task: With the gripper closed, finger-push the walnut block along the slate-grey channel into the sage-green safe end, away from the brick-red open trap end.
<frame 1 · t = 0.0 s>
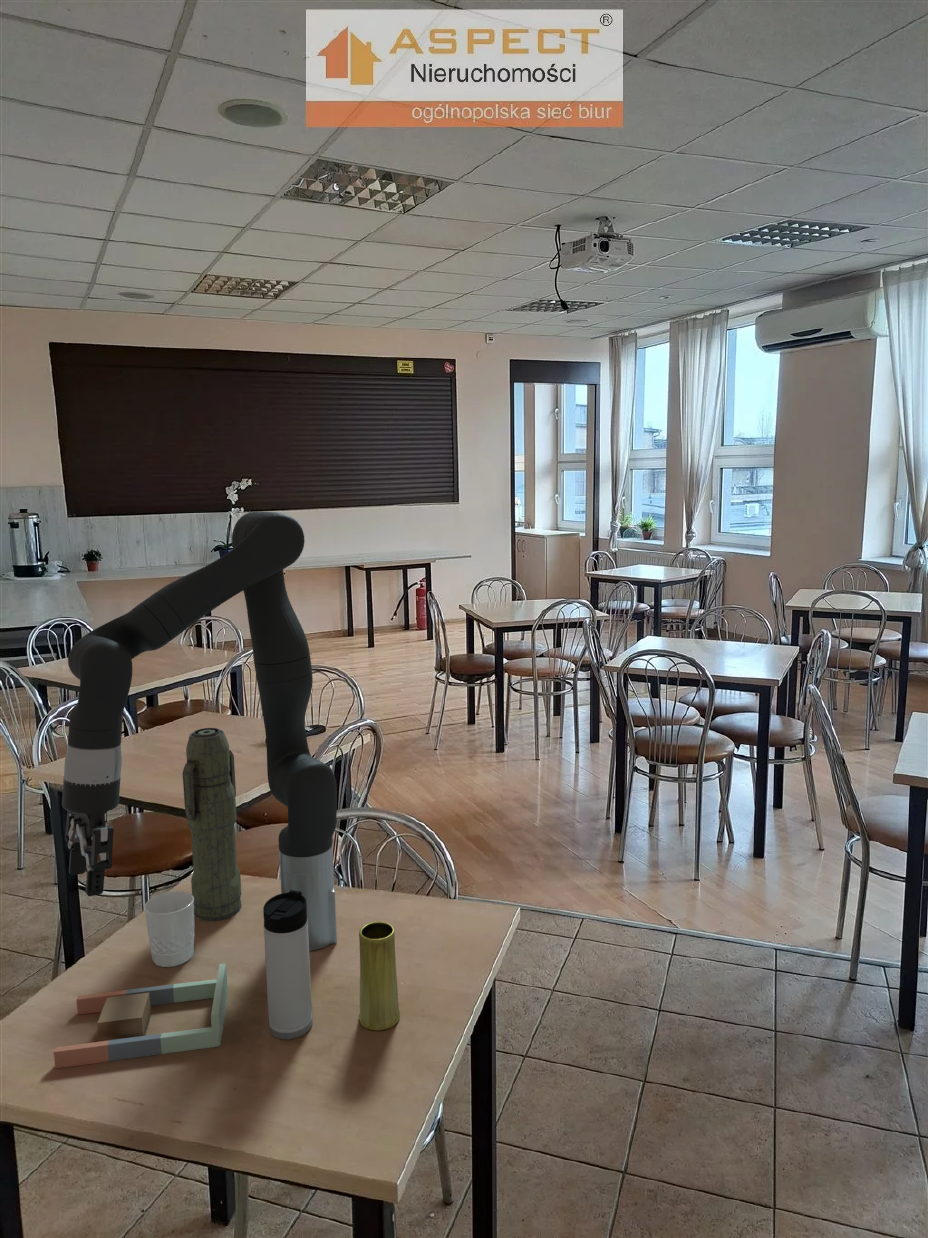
hand: (85, 883, 120), 22 cm above the table, tool pointing down, fingers open, 8 cm apart
white cup: (173, 957, 141), on the table
vase: (379, 1019, 124), on the table
channel: (147, 1027, 122), on the table
travel mug: (291, 1026, 122), on the table
walnut block: (126, 1031, 122), resting in channel
thermos: (218, 910, 157), on the table
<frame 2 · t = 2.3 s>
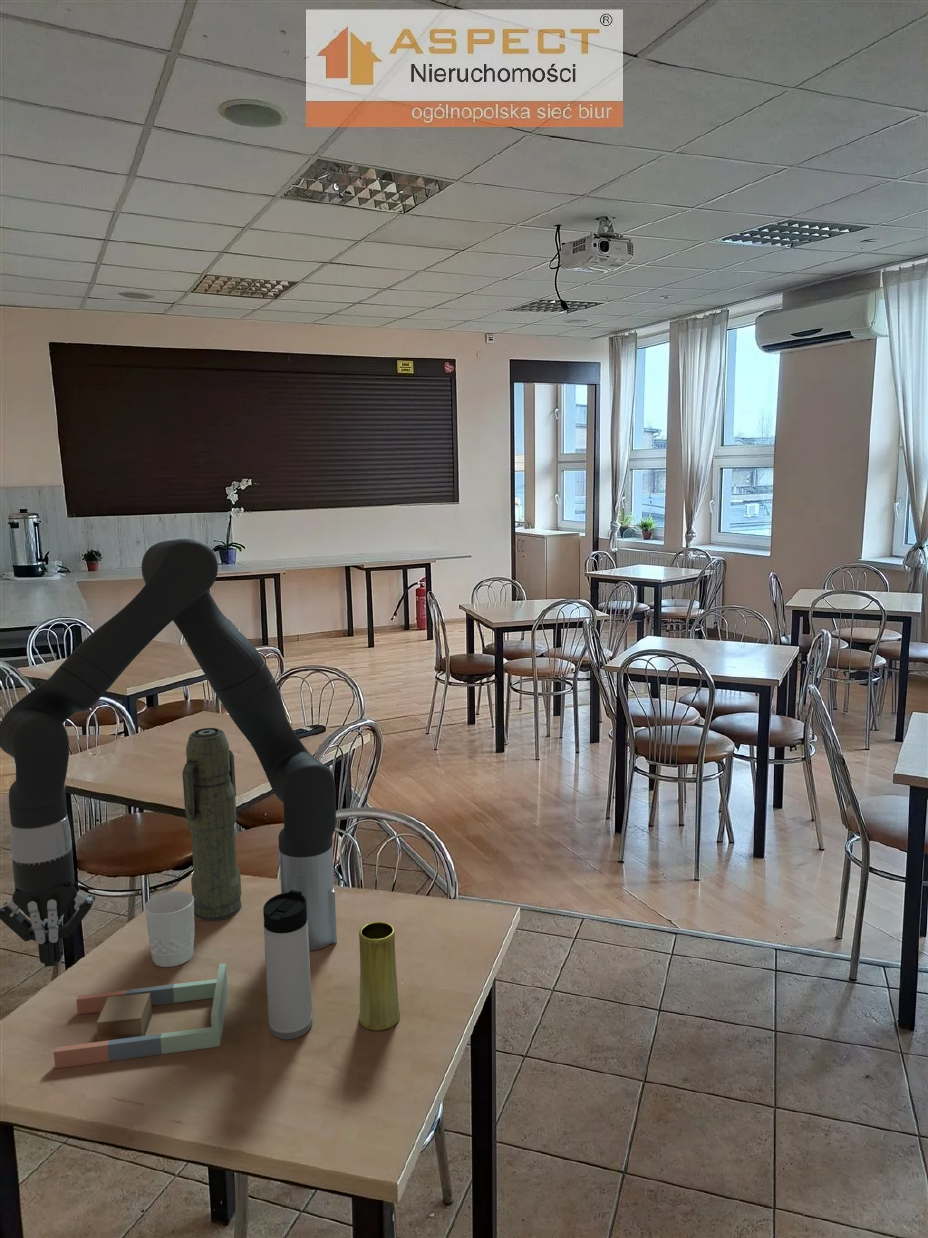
hand: (52, 963, 118), 12 cm above the table, tool pointing down, fingers closed
nothing on the table moved.
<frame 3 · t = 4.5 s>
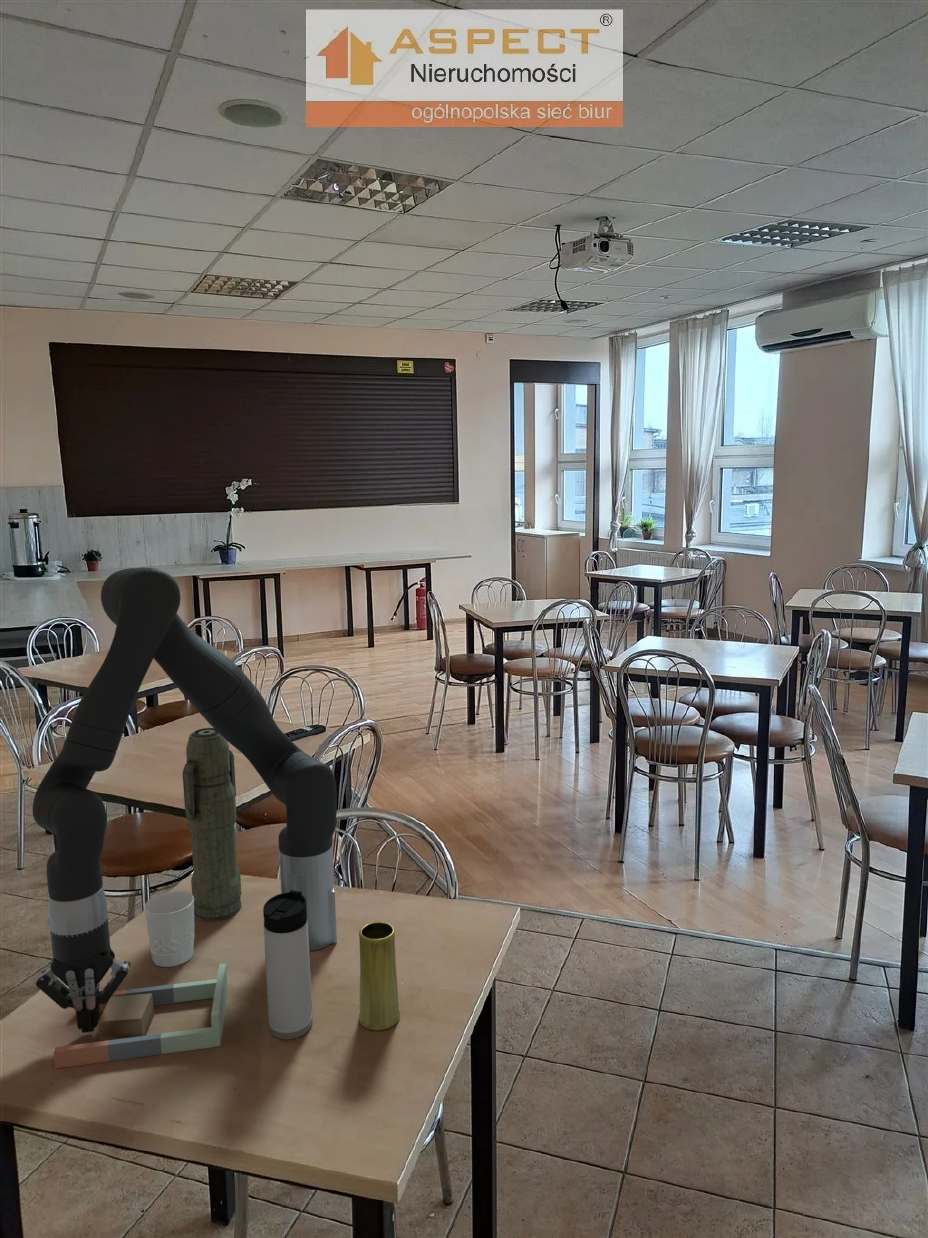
hand: (89, 1028, 121), 1 cm above the table, tool pointing down, fingers closed
walnut block: (127, 1032, 122), resting in channel, touching gripper
everything else where it was.
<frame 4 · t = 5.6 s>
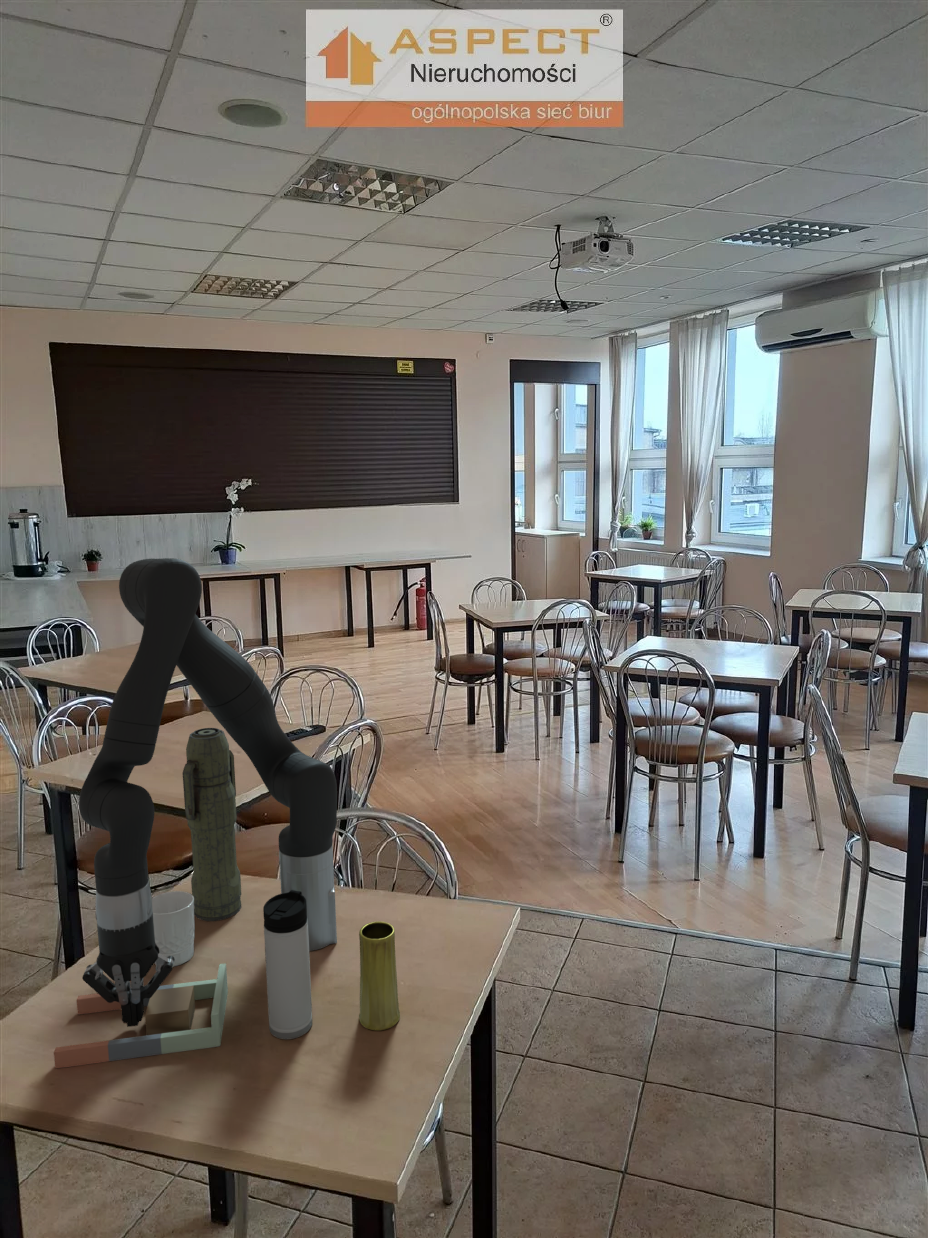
hand: (133, 1022, 122), 1 cm above the table, tool pointing down, fingers closed
walnut block: (171, 1024, 123), resting in channel, touching gripper
everything else where it was.
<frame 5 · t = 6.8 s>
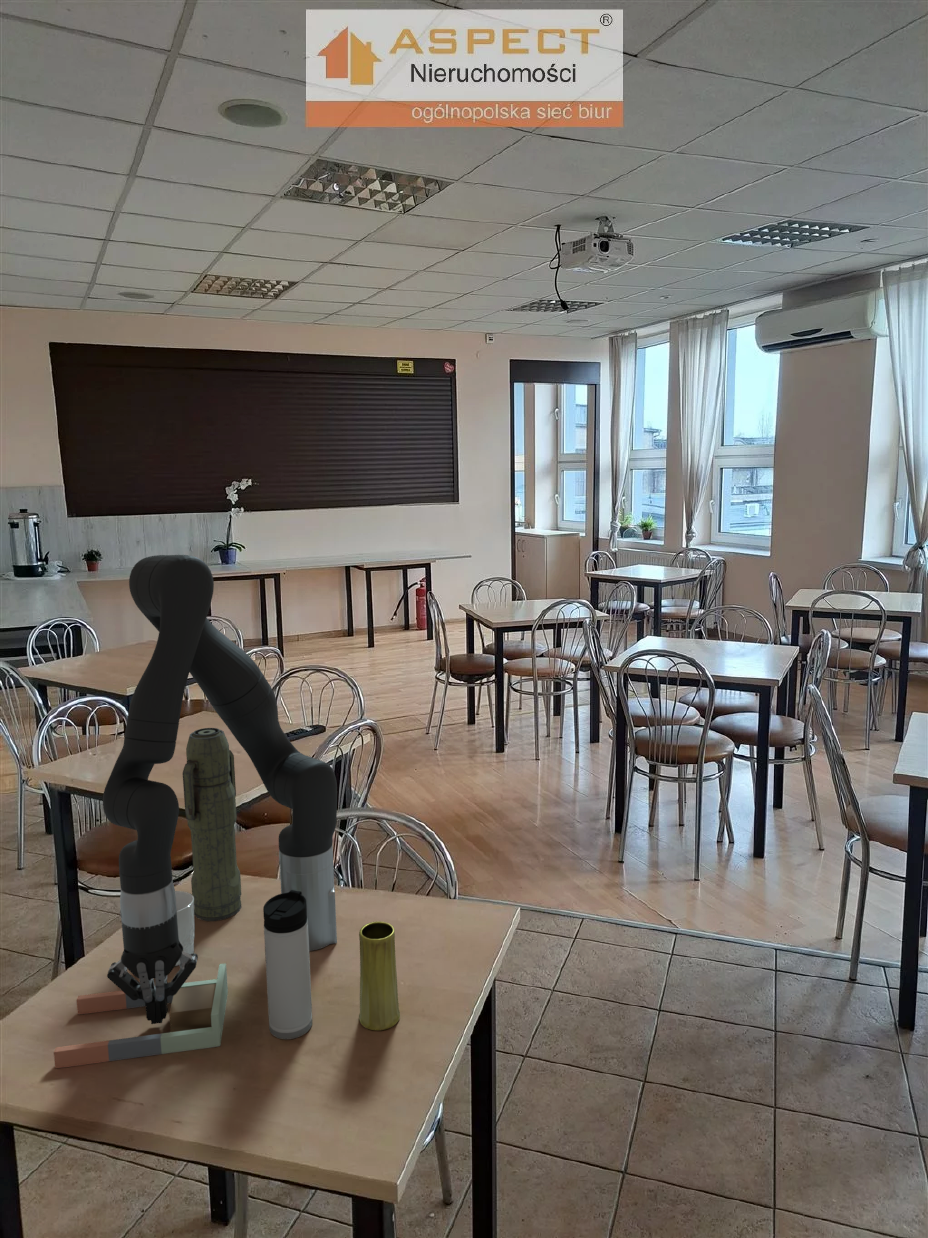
hand: (157, 1020, 122), 1 cm above the table, tool pointing down, fingers closed
walnut block: (195, 1022, 124), resting in channel
everything else where it was.
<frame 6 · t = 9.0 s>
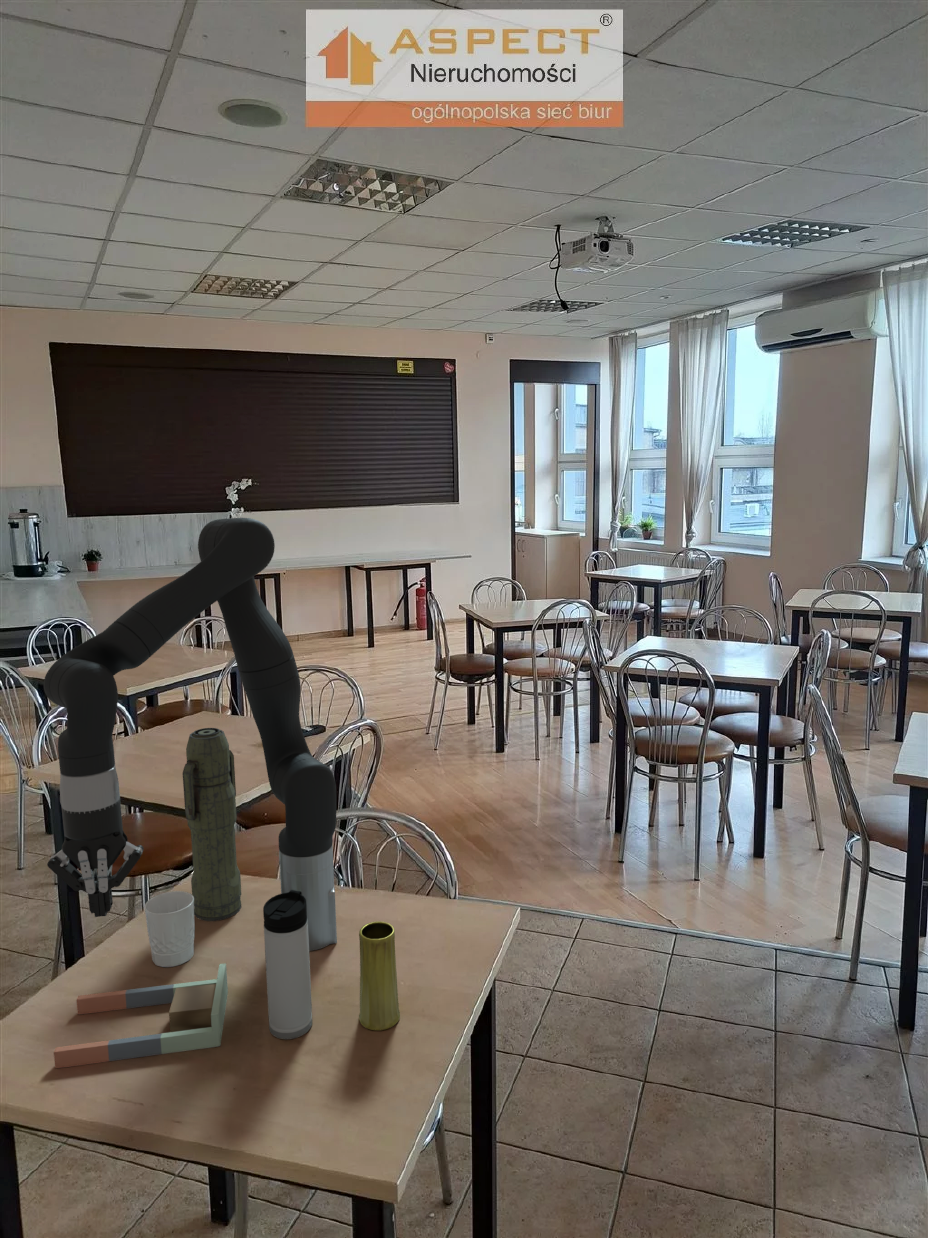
hand: (101, 913, 118), 19 cm above the table, tool pointing down, fingers closed
nothing on the table moved.
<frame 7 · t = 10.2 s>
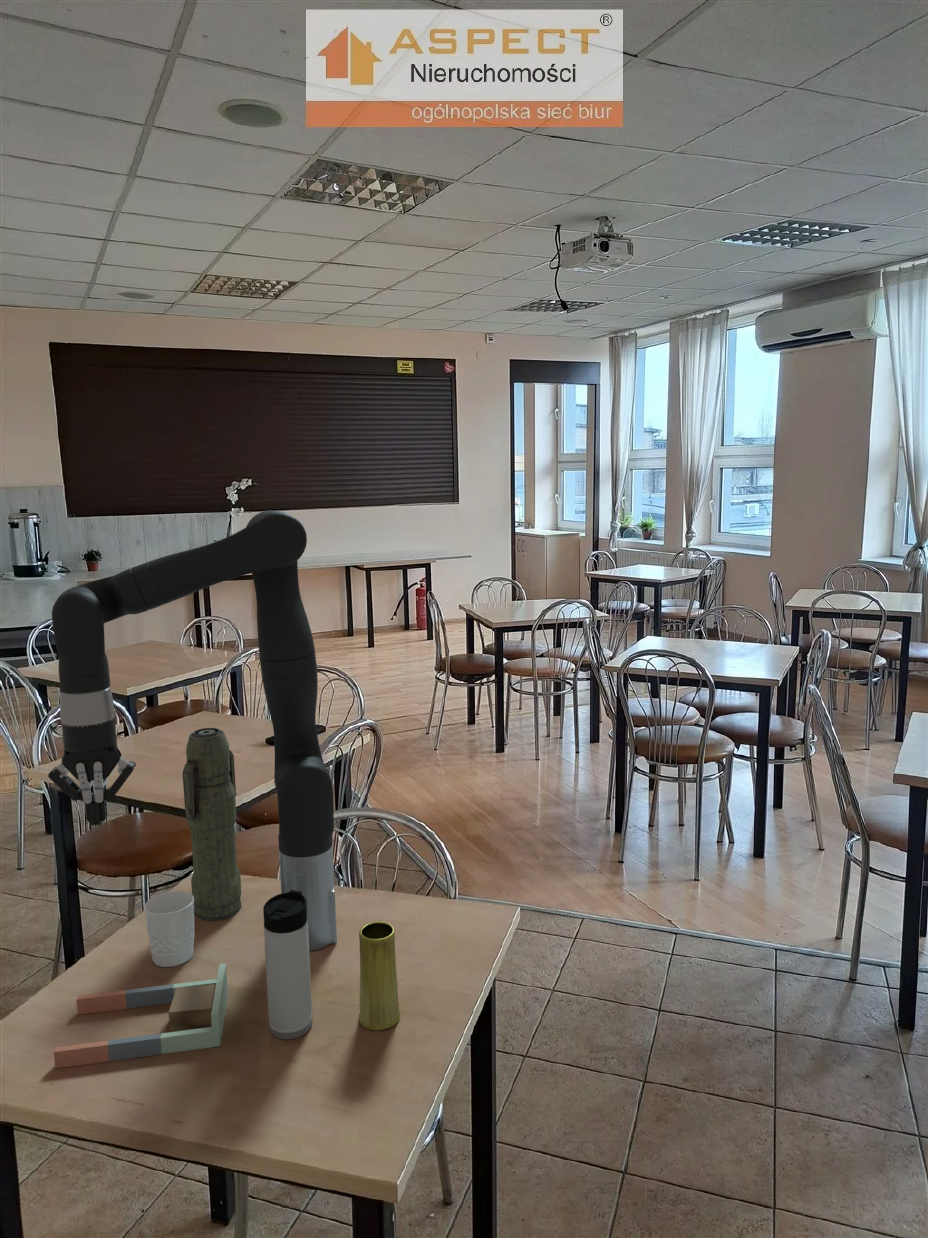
hand: (97, 823, 130), 27 cm above the table, tool pointing down, fingers closed
nothing on the table moved.
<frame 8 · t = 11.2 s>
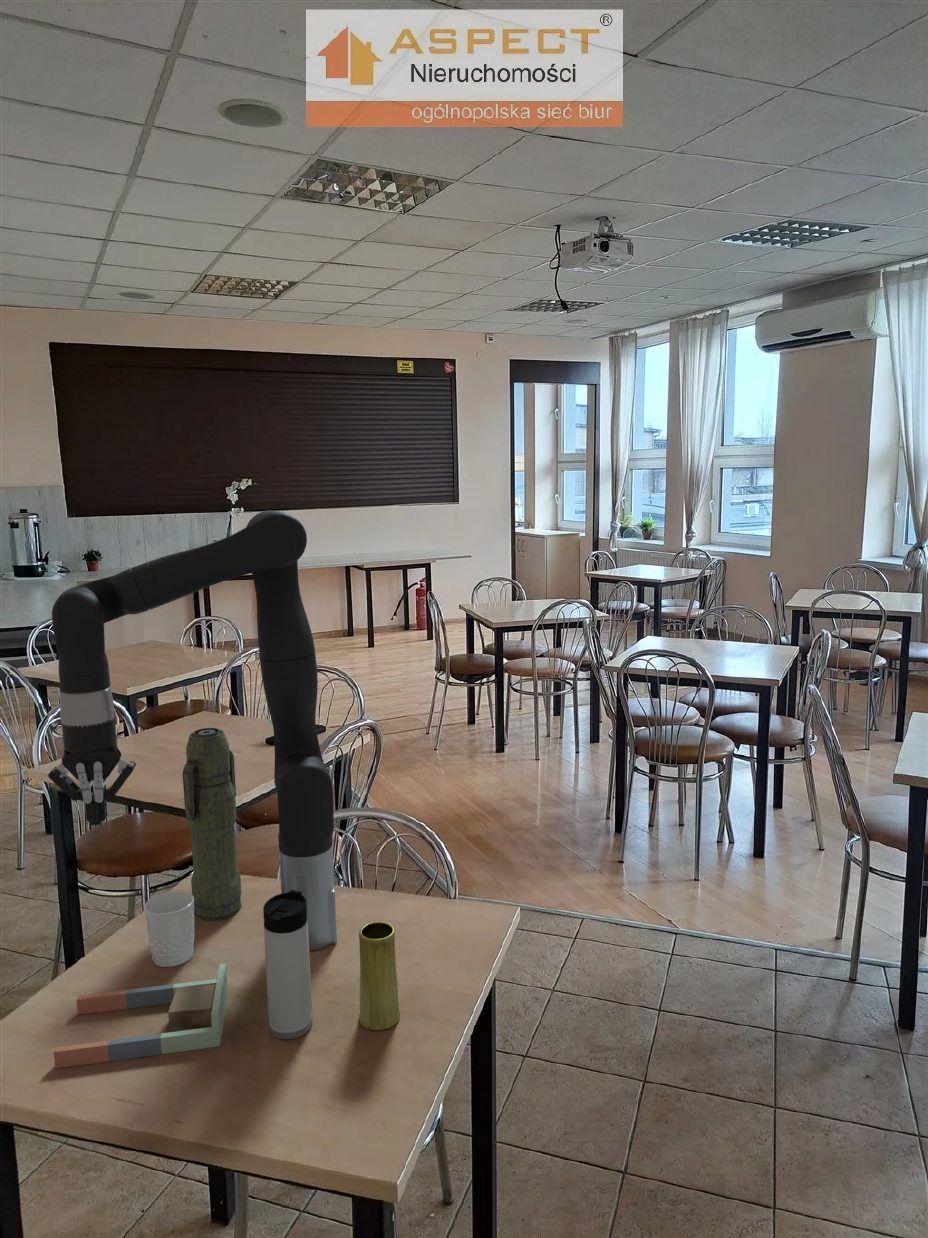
hand: (97, 823, 130), 27 cm above the table, tool pointing down, fingers closed
nothing on the table moved.
at the end: walnut block inside the target area (1.6 cm from its centre), resting in channel; walnut block tilted 0°; the gripper is holding nothing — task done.
